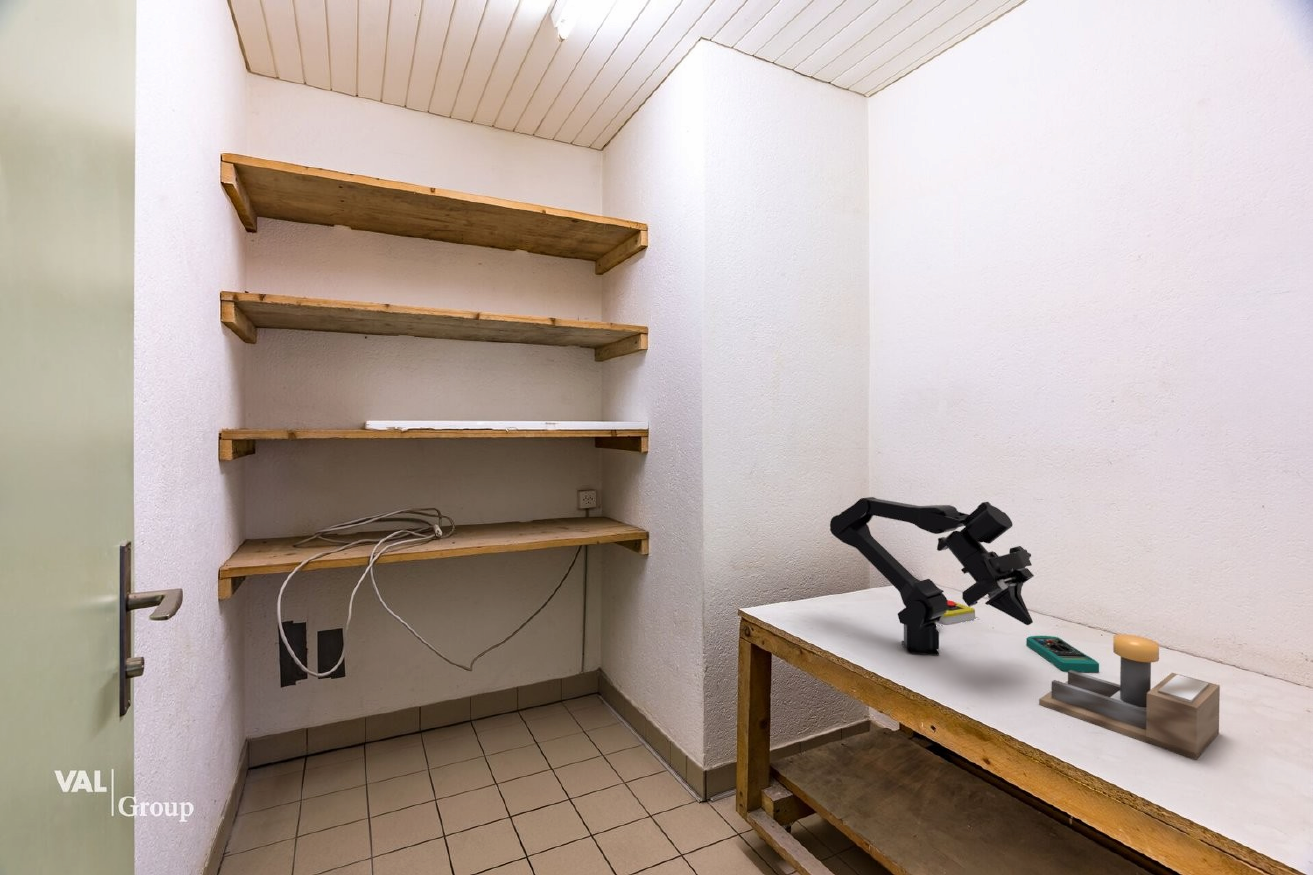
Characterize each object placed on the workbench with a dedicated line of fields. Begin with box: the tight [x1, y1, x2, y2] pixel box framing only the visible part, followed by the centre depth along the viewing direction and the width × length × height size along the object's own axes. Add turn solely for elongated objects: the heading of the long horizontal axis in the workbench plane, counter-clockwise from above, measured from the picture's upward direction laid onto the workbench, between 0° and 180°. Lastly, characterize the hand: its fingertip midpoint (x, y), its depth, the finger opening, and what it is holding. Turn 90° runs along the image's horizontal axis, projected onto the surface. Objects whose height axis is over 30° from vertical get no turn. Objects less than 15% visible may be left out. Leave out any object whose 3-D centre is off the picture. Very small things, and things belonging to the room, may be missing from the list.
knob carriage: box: [1110, 633, 1160, 709], centre depth 99 cm, size 6×6×13 cm
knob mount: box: [1038, 670, 1221, 761], centre depth 100 cm, size 21×13×8 cm, turn 35°
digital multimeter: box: [1025, 635, 1100, 674], centre depth 126 cm, size 7×15×3 cm, turn 174°
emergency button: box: [936, 599, 979, 627], centre depth 152 cm, size 9×4×15 cm
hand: (1030, 623), depth 112 cm, fingers closed
